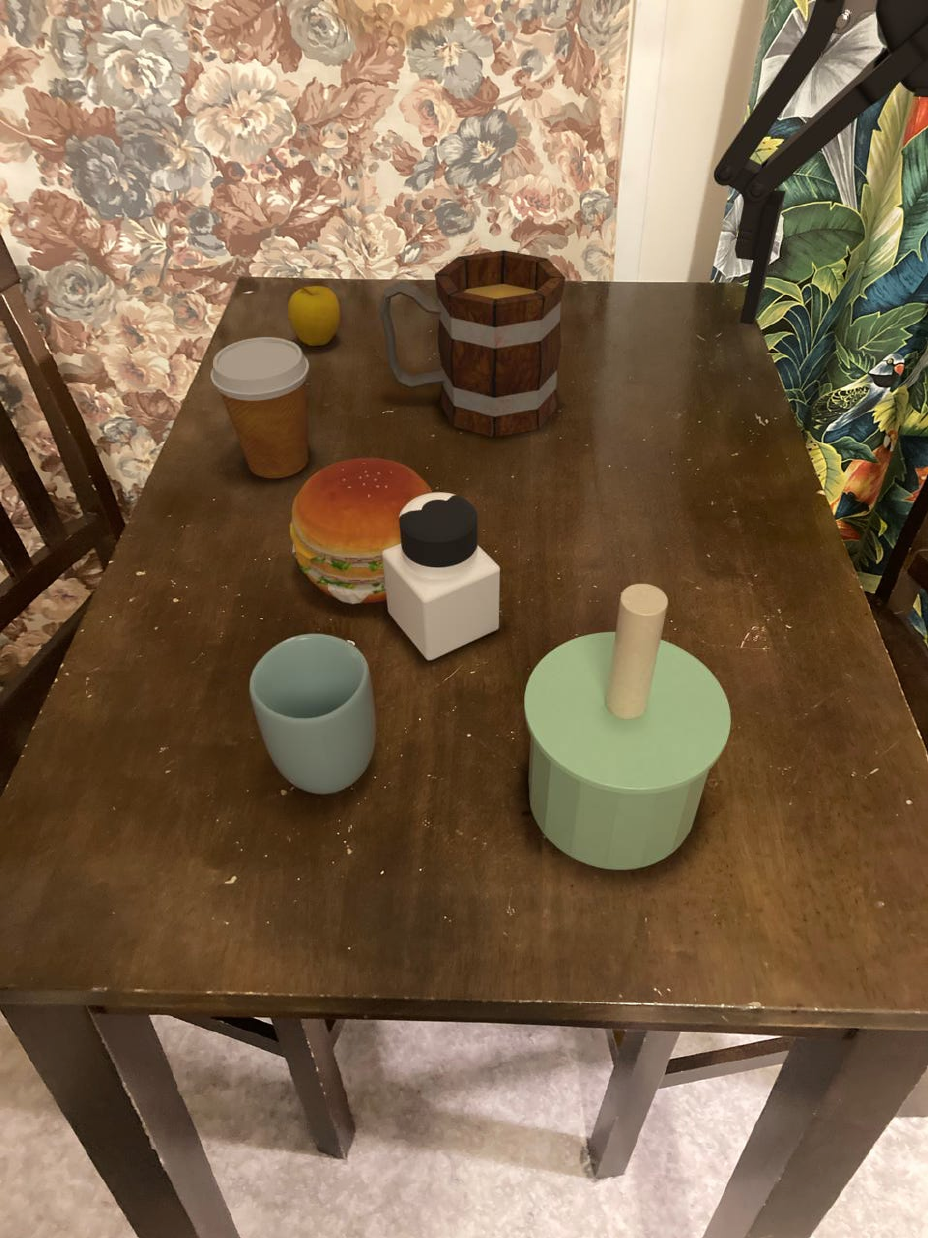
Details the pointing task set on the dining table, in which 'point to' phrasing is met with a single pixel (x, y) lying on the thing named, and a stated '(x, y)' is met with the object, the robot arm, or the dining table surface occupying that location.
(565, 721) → the tin lid
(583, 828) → the tin
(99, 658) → the dining table surface
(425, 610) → the medicine bottle
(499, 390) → the mug
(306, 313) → the apple
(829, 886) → the dining table surface
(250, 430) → the disposable coffee cup
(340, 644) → the cup
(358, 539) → the burger
